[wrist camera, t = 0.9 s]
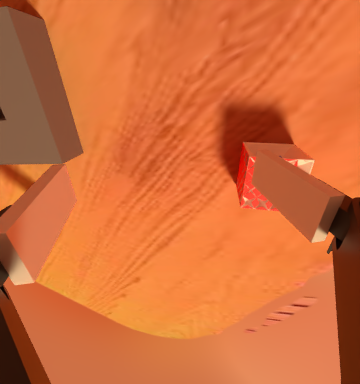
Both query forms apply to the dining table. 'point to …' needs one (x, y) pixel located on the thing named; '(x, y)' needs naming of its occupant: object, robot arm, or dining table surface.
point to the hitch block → (32, 95)
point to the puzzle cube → (245, 189)
